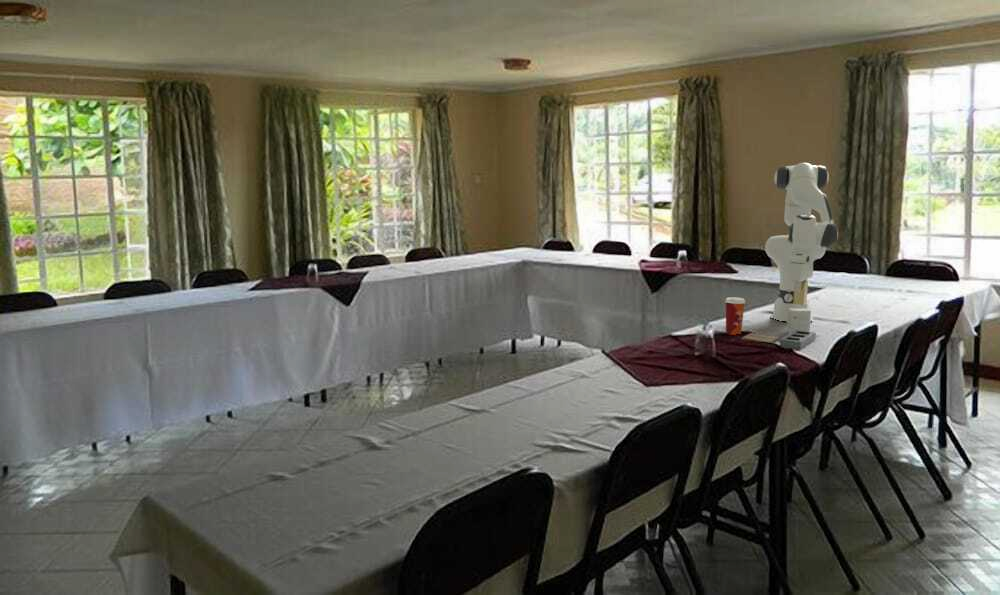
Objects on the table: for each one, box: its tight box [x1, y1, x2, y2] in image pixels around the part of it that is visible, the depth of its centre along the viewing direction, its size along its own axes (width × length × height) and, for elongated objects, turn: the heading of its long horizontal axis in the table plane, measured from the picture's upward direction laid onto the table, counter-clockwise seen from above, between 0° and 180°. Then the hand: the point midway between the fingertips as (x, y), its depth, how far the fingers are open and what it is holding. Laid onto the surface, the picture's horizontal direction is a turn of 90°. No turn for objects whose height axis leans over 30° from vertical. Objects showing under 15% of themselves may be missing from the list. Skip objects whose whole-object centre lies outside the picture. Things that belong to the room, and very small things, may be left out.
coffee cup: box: [724, 296, 746, 336], centre depth 326 cm, size 8×8×15 cm
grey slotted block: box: [778, 330, 817, 351], centre depth 309 cm, size 22×8×3 cm, turn 144°
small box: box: [786, 308, 812, 334], centre depth 326 cm, size 8×6×10 cm
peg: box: [793, 280, 809, 305], centre depth 306 cm, size 4×4×9 cm
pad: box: [740, 332, 781, 344], centre depth 315 cm, size 12×12×1 cm
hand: (800, 291), depth 306 cm, fingers closed on peg, 4 cm apart
